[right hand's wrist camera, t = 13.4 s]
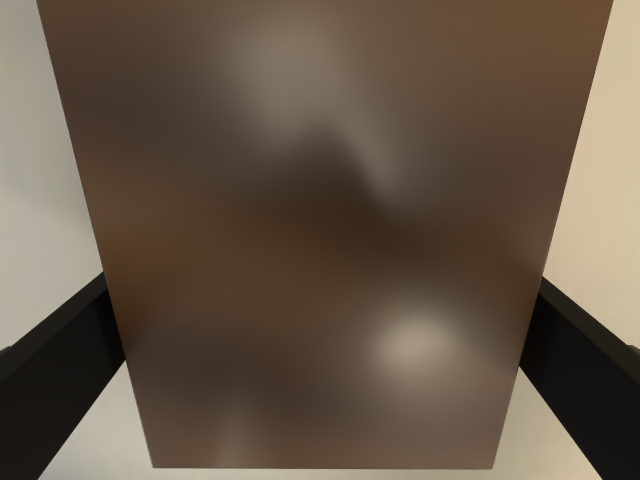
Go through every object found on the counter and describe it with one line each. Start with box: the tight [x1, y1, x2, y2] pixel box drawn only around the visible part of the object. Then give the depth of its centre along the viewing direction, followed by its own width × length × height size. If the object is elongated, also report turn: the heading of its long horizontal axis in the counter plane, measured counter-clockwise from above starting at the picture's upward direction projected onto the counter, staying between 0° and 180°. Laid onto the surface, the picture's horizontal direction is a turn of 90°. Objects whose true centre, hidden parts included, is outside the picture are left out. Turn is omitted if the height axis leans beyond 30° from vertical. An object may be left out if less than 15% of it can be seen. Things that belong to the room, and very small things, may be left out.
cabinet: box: [36, 0, 614, 470], centre depth 13 cm, size 21×11×10 cm, turn 0°
